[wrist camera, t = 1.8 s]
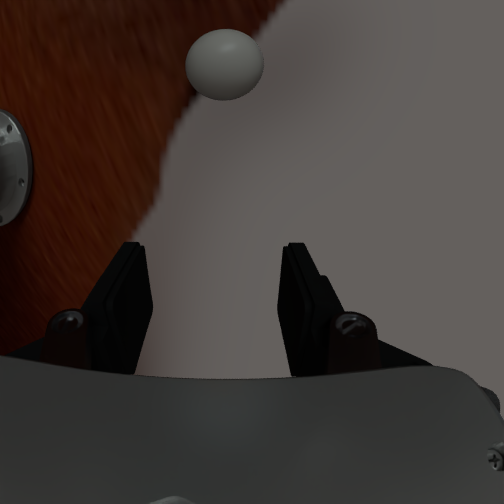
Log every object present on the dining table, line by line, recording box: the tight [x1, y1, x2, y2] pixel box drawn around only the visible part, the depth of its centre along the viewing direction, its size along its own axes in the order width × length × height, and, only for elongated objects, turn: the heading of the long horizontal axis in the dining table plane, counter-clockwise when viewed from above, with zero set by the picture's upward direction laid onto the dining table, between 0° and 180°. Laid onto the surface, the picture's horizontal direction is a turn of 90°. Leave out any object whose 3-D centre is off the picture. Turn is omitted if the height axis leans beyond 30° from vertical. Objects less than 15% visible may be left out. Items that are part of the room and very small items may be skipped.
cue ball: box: [185, 29, 264, 100], centre depth 18 cm, size 6×6×6 cm
